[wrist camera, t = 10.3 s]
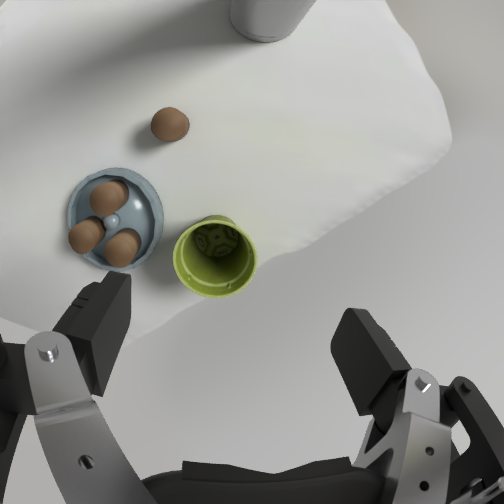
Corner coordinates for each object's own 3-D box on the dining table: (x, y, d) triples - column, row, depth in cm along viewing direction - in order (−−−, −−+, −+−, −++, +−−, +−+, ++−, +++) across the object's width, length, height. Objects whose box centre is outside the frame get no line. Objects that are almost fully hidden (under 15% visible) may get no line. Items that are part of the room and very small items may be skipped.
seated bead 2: (116, 225, 35) (104, 236, 31) (142, 229, 36) (133, 241, 32) (115, 252, 37) (104, 265, 33) (140, 256, 37) (132, 270, 33)
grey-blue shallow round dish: (78, 164, 32) (69, 166, 30) (170, 174, 35) (166, 176, 32) (75, 255, 37) (68, 262, 35) (159, 270, 40) (155, 278, 37)
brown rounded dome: (104, 177, 33) (90, 183, 29) (131, 180, 33) (119, 186, 29) (102, 206, 34) (88, 214, 30) (128, 209, 35) (116, 218, 31)
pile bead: (162, 109, 31) (154, 105, 27) (192, 113, 32) (188, 109, 28) (156, 139, 33) (148, 138, 29) (186, 142, 33) (181, 142, 29)
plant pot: (200, 276, 41) (195, 308, 33) (171, 218, 37) (158, 240, 29) (259, 252, 40) (268, 281, 32) (235, 192, 37) (238, 206, 29)
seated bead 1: (82, 214, 34) (68, 223, 30) (106, 217, 35) (93, 227, 31) (82, 240, 35) (69, 251, 31) (105, 244, 36) (93, 256, 32)
